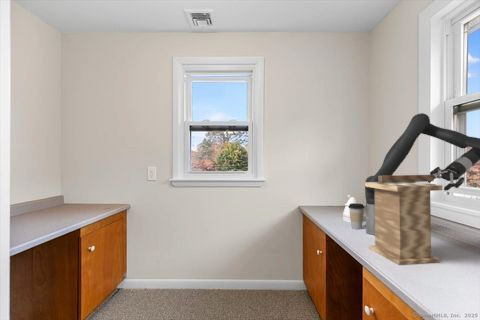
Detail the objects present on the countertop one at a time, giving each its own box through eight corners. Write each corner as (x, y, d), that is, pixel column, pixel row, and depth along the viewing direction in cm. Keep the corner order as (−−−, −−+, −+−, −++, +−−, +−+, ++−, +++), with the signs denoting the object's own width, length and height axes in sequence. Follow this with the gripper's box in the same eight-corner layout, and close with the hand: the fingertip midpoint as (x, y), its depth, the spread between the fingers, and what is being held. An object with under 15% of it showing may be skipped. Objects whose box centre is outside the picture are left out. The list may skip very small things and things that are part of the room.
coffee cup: (364, 227, 187) (363, 203, 187) (365, 230, 178) (365, 205, 178) (348, 226, 190) (348, 202, 190) (348, 229, 181) (348, 205, 181)
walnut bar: (428, 180, 142) (428, 174, 142) (433, 181, 139) (433, 175, 139) (378, 182, 139) (378, 175, 139) (382, 182, 136) (381, 176, 136)
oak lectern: (404, 246, 145) (403, 180, 145) (443, 263, 121) (442, 184, 121) (365, 248, 143) (365, 181, 143) (398, 265, 119) (397, 185, 119)
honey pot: (344, 222, 201) (344, 196, 201) (341, 218, 214) (341, 194, 214) (364, 223, 199) (364, 196, 199) (360, 219, 212) (359, 194, 212)
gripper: (445, 156, 155) (422, 174, 153) (474, 167, 143) (450, 186, 141) (445, 166, 159) (423, 184, 157) (473, 178, 148) (450, 197, 145)
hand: (436, 185), depth 149 cm, fingers open, 8 cm apart
